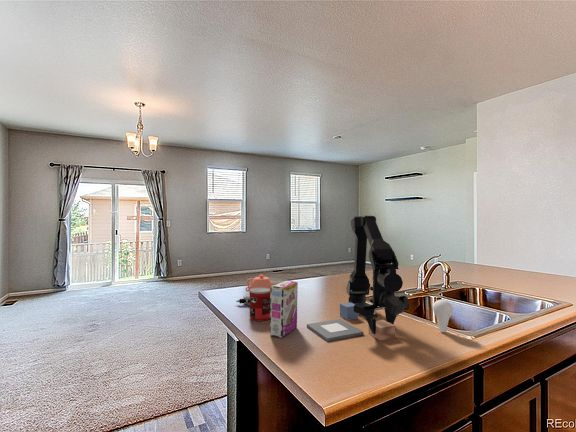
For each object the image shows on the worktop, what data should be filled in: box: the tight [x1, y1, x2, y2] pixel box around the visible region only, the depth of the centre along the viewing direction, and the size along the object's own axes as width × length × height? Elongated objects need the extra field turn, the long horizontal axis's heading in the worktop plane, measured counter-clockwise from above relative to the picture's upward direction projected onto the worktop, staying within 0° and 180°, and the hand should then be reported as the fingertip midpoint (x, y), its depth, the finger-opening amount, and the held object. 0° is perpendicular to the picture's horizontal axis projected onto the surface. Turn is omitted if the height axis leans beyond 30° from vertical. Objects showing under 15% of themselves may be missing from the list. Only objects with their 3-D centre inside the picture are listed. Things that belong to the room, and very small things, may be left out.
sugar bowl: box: [245, 274, 273, 295], centre depth 155 cm, size 12×14×10 cm
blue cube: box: [339, 301, 359, 321], centre depth 121 cm, size 5×5×5 cm
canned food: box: [249, 288, 271, 322], centre depth 120 cm, size 8×8×11 cm
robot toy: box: [236, 294, 271, 306], centre depth 137 cm, size 12×4×15 cm
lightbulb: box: [432, 299, 454, 333], centre depth 105 cm, size 6×6×11 cm
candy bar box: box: [269, 280, 299, 339], centre depth 106 cm, size 11×5×16 cm, turn 152°
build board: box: [306, 318, 364, 342], centre depth 107 cm, size 14×14×1 cm
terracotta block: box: [368, 319, 396, 341], centre depth 102 cm, size 6×6×4 cm
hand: (381, 332), depth 102 cm, fingers closed on terracotta block, 6 cm apart
